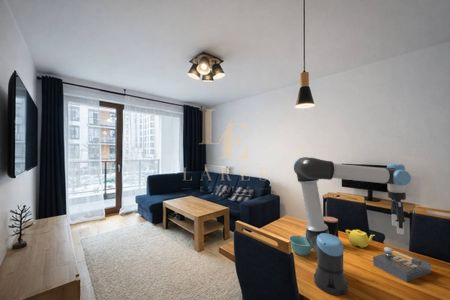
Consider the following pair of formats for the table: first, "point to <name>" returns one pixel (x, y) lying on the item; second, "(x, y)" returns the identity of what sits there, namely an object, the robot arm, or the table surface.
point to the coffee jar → (331, 225)
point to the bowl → (300, 245)
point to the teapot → (359, 238)
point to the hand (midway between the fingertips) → (397, 229)
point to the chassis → (401, 266)
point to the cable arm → (402, 256)
